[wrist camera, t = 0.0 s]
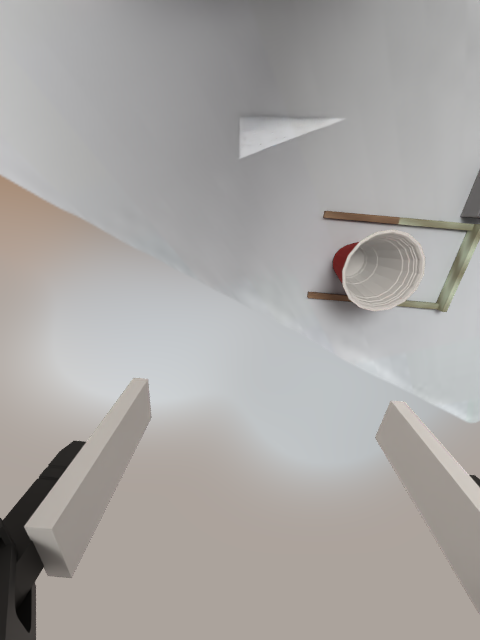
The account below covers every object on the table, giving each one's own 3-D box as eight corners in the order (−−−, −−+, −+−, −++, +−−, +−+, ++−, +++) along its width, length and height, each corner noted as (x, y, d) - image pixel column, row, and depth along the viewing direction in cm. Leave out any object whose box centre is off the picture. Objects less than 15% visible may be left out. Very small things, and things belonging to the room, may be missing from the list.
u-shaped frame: (324, 211, 39) (328, 210, 37) (475, 224, 39) (486, 224, 37) (307, 296, 45) (309, 299, 43) (438, 308, 45) (446, 312, 43)
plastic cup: (387, 228, 40) (441, 231, 29) (371, 290, 44) (413, 312, 33) (323, 226, 40) (352, 227, 29) (313, 287, 44) (335, 309, 33)
